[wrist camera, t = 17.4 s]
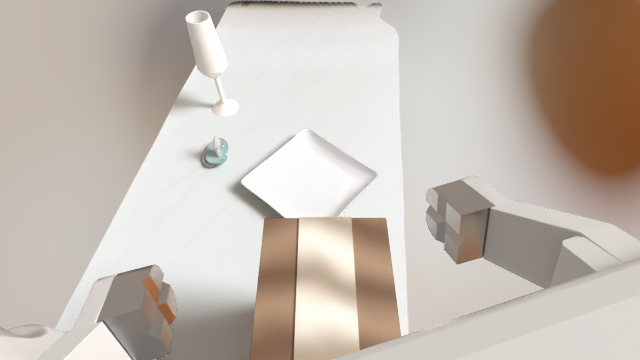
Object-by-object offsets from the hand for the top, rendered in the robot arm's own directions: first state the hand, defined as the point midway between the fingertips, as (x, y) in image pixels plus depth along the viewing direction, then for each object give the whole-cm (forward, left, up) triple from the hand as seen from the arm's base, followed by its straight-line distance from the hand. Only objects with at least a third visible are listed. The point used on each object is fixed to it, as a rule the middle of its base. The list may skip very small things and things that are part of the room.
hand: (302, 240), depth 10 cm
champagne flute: (+36, +54, -51) cm, 83 cm away
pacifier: (+23, +45, -51) cm, 72 cm away
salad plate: (+29, +22, -52) cm, 63 cm away
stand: (+6, +3, -51) cm, 52 cm away
